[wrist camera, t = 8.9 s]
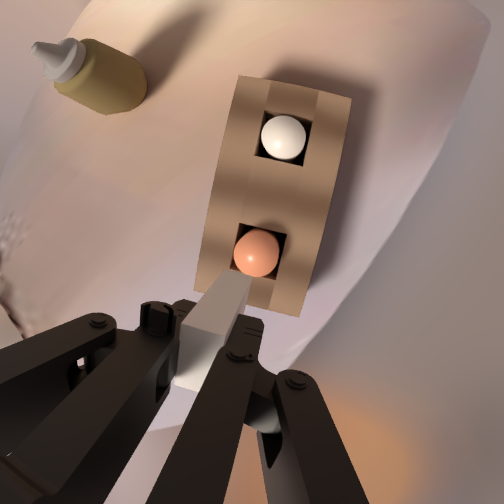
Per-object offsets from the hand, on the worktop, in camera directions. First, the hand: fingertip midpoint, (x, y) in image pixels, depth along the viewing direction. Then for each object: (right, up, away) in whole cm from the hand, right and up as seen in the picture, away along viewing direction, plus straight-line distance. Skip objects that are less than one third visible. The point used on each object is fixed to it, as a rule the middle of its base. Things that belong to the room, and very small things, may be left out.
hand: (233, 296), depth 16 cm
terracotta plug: (+2, +3, +17) cm, 17 cm away
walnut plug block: (+3, +9, +17) cm, 19 cm away
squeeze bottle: (-15, +23, +16) cm, 32 cm away
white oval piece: (+5, +14, +15) cm, 21 cm away
